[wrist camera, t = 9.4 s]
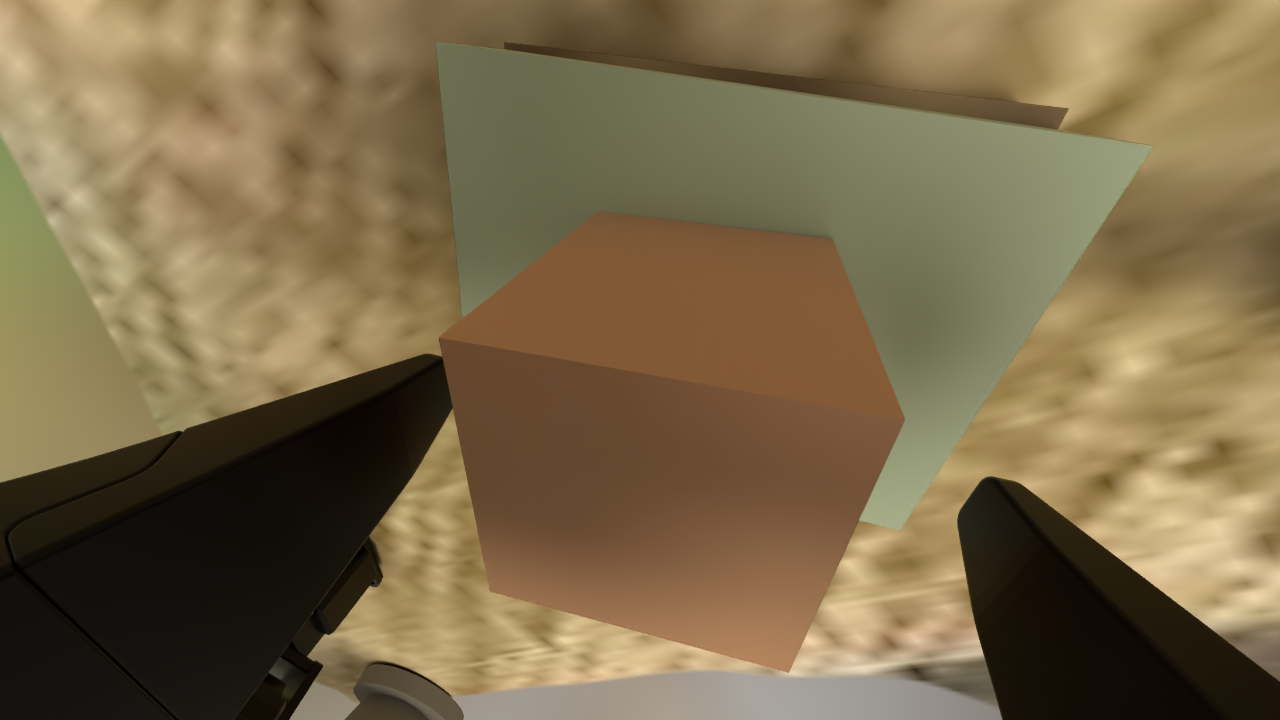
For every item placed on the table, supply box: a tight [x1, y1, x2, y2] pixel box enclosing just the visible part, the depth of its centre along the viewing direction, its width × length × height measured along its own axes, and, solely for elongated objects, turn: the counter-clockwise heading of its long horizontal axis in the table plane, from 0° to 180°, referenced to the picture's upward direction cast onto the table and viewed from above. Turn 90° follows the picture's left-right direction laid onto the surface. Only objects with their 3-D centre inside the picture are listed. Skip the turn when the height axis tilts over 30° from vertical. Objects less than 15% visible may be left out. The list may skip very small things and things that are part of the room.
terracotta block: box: [439, 211, 905, 672], centre depth 9 cm, size 5×5×6 cm
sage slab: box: [435, 41, 1154, 531], centre depth 12 cm, size 13×10×3 cm
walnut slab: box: [504, 42, 1068, 130], centre depth 15 cm, size 13×10×3 cm
